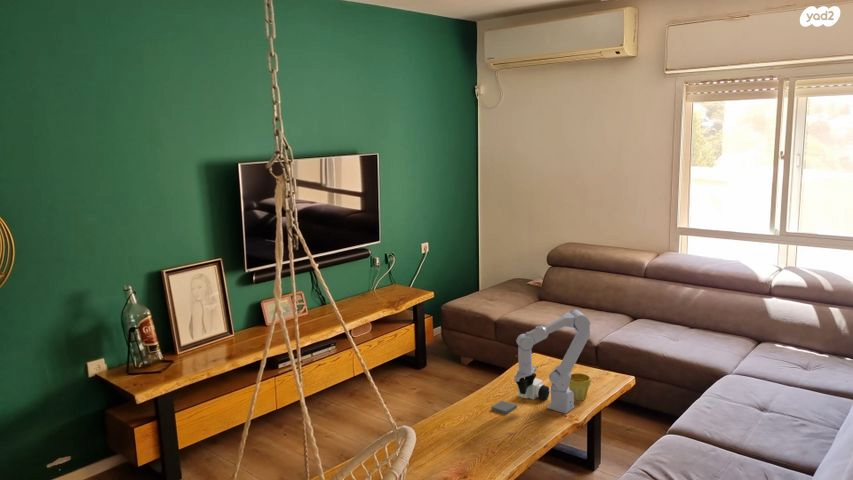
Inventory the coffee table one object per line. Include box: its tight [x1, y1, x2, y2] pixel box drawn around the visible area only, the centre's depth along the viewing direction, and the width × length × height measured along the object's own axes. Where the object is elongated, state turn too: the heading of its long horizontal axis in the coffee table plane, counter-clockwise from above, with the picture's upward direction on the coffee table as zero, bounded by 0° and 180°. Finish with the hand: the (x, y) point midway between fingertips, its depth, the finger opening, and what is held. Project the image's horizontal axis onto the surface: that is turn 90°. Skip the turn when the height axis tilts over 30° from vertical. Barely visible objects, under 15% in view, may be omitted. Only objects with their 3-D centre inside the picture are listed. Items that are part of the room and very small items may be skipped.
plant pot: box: [568, 372, 592, 402], centre depth 295 cm, size 10×10×10 cm
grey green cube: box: [517, 383, 533, 399], centre depth 283 cm, size 5×5×5 cm
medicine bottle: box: [528, 377, 551, 401], centre depth 298 cm, size 7×7×12 cm
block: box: [490, 400, 518, 416], centre depth 288 cm, size 8×8×2 cm
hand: (525, 391), depth 283 cm, fingers closed on grey green cube, 4 cm apart
